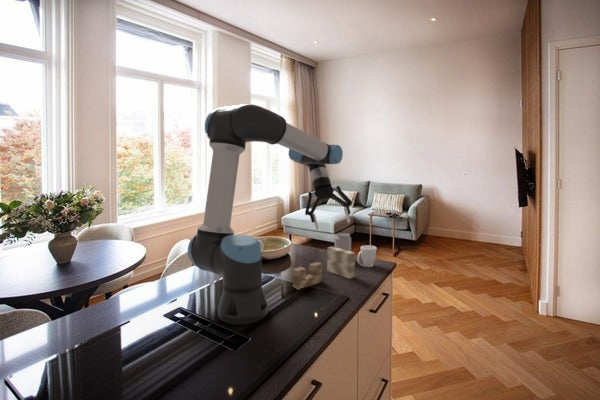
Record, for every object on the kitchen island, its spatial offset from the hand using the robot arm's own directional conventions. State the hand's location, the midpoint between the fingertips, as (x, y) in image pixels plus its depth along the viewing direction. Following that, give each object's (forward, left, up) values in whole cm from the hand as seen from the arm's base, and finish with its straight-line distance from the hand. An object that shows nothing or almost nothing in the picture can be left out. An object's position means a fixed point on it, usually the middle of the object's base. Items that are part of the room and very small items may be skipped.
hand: (333, 225), depth 138 cm
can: (+11, +9, -19) cm, 24 cm away
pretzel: (-25, +31, -19) cm, 45 cm away
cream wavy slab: (0, -6, -19) cm, 20 cm away
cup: (+15, -3, -19) cm, 24 cm away
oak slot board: (-17, -10, -19) cm, 27 cm away
